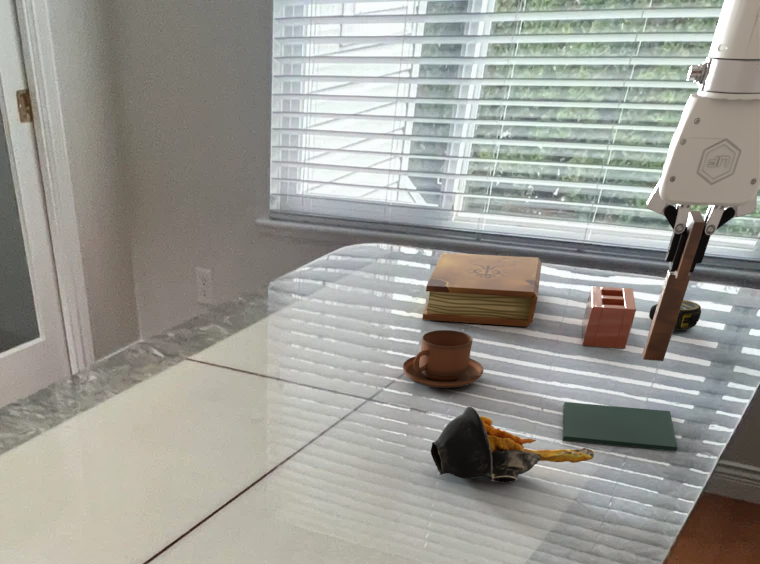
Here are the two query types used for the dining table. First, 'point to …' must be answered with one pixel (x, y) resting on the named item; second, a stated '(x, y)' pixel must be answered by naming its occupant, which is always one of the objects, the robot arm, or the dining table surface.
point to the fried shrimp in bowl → (490, 450)
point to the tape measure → (684, 315)
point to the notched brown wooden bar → (673, 293)
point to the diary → (483, 289)
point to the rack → (608, 317)
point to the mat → (618, 426)
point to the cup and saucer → (444, 361)
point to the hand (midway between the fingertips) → (680, 268)
